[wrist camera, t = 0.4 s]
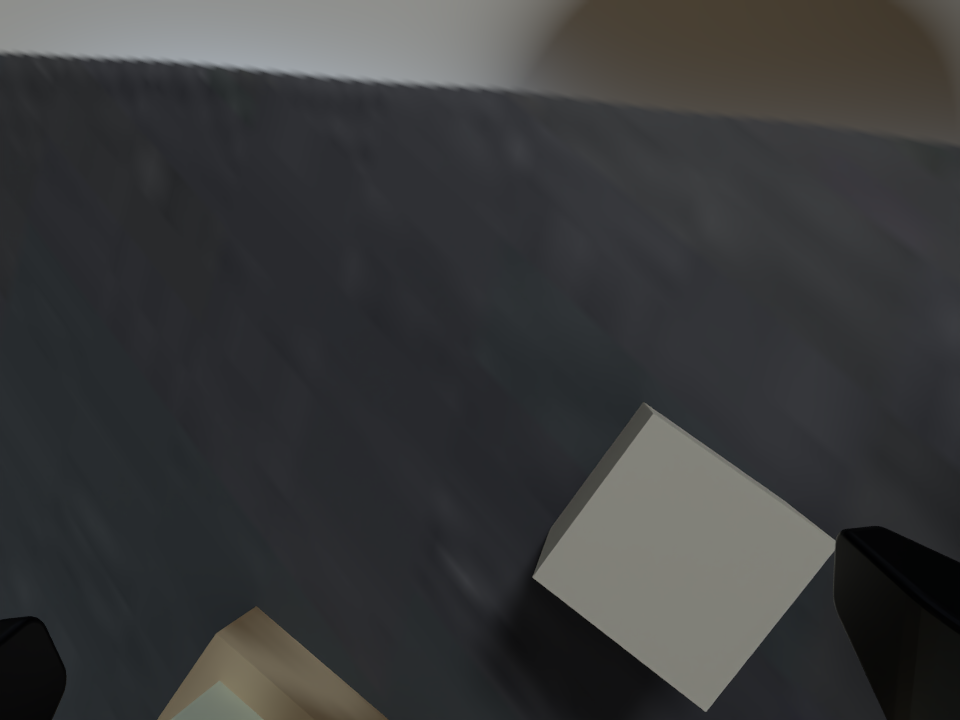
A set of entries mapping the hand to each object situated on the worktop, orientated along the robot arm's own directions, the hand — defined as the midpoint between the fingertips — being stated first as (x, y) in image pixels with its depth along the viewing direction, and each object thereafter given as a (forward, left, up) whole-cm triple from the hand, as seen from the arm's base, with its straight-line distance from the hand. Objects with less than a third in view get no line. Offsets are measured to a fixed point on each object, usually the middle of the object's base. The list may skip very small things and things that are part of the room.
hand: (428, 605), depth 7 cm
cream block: (-4, 0, -14) cm, 15 cm away
